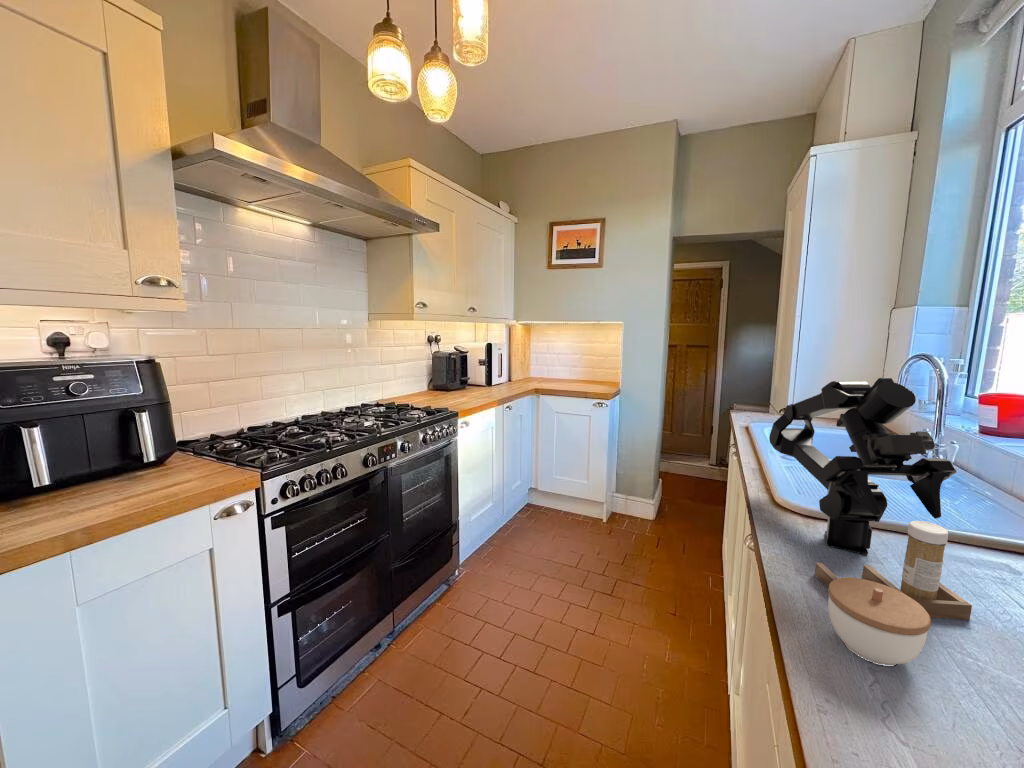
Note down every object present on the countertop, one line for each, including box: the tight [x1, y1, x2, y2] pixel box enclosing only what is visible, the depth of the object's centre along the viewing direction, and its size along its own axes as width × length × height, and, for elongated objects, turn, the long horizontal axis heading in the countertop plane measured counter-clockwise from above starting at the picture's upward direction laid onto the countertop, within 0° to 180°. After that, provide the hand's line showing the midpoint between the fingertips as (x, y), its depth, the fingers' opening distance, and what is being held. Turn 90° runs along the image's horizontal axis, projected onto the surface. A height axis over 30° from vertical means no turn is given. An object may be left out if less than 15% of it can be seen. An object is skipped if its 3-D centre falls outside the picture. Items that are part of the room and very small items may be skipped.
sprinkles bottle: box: [899, 520, 949, 600], centre depth 68 cm, size 5×5×14 cm
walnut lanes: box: [813, 562, 973, 621], centre depth 70 cm, size 10×17×2 cm, turn 83°
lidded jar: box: [827, 577, 932, 666], centre depth 58 cm, size 11×11×9 cm
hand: (907, 516), depth 71 cm, fingers open, 9 cm apart
